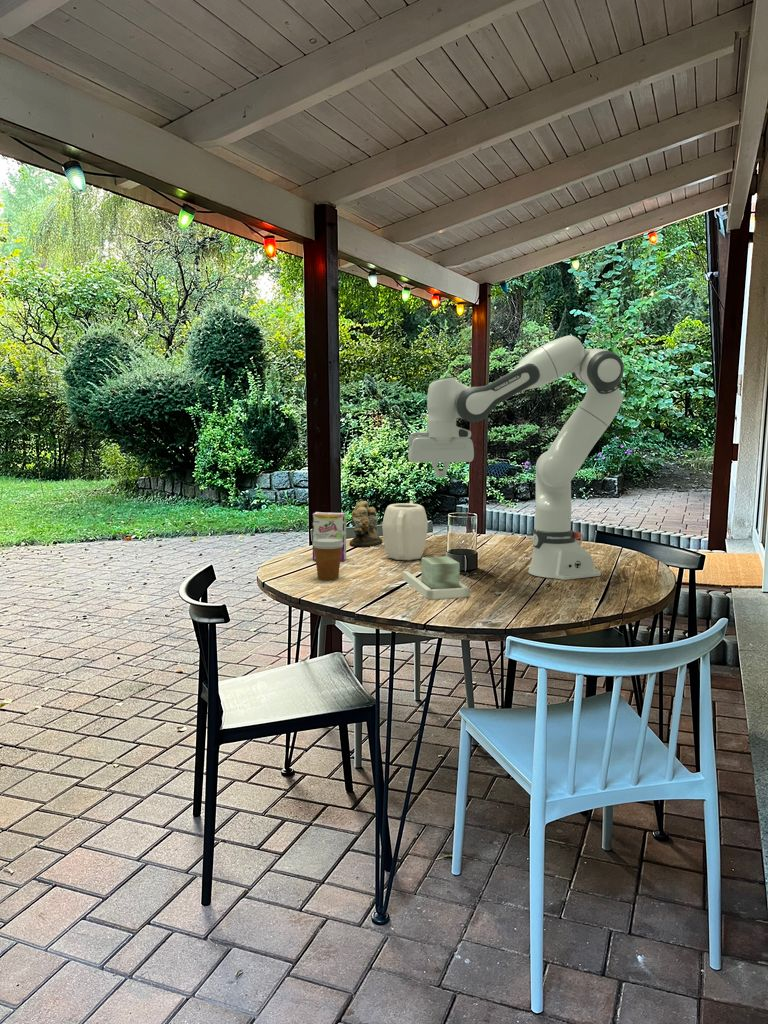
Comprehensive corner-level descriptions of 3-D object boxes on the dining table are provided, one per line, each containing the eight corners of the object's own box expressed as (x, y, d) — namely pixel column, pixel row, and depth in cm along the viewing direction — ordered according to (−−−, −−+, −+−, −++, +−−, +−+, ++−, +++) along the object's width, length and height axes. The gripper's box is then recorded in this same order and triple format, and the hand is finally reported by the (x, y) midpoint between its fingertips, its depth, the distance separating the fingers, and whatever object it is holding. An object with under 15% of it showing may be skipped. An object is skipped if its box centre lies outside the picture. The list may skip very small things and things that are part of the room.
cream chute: (440, 577, 223) (440, 569, 223) (469, 597, 199) (469, 588, 198) (402, 579, 220) (402, 571, 220) (427, 600, 196) (427, 591, 195)
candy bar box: (312, 561, 247) (311, 513, 245) (315, 558, 252) (314, 511, 250) (344, 561, 246) (344, 514, 244) (346, 559, 251) (346, 512, 249)
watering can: (432, 551, 266) (432, 500, 263) (421, 565, 240) (422, 509, 237) (390, 549, 269) (391, 499, 266) (376, 563, 243) (376, 508, 240)
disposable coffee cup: (315, 582, 216) (315, 542, 214) (310, 575, 225) (309, 537, 223) (346, 580, 218) (346, 541, 217) (340, 573, 228) (339, 536, 226)
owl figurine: (372, 549, 270) (372, 504, 268) (343, 547, 274) (342, 503, 271) (387, 541, 287) (387, 498, 285) (359, 539, 291) (359, 497, 288)
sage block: (447, 586, 210) (447, 556, 209) (459, 594, 201) (459, 563, 200) (421, 587, 209) (421, 557, 207) (431, 596, 199) (432, 564, 198)
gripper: (411, 431, 212) (410, 478, 214) (476, 431, 217) (475, 477, 219) (405, 431, 219) (405, 476, 220) (468, 431, 223) (468, 475, 225)
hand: (440, 477), depth 220 cm, fingers closed
